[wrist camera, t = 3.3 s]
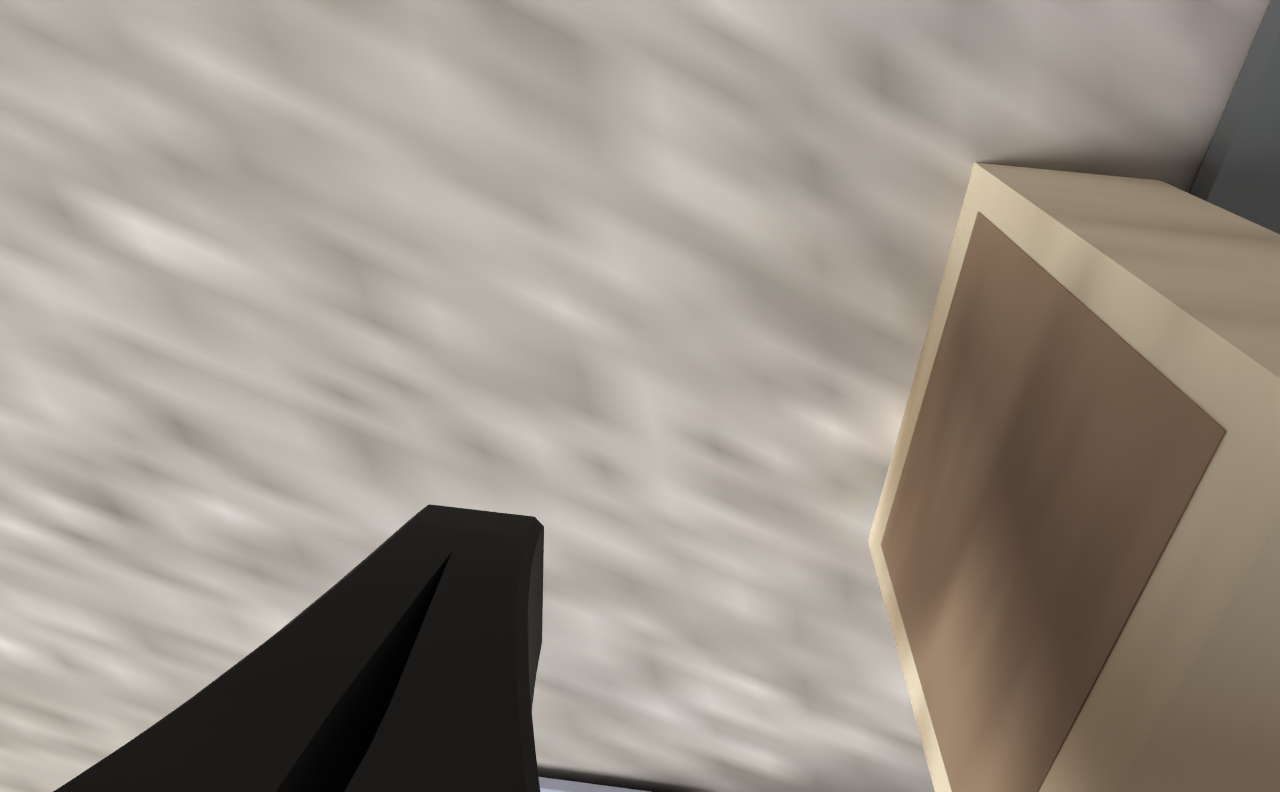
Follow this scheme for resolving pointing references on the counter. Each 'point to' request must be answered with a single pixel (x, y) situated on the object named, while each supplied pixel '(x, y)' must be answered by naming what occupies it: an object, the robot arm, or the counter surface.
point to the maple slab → (1092, 494)
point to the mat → (1249, 136)
